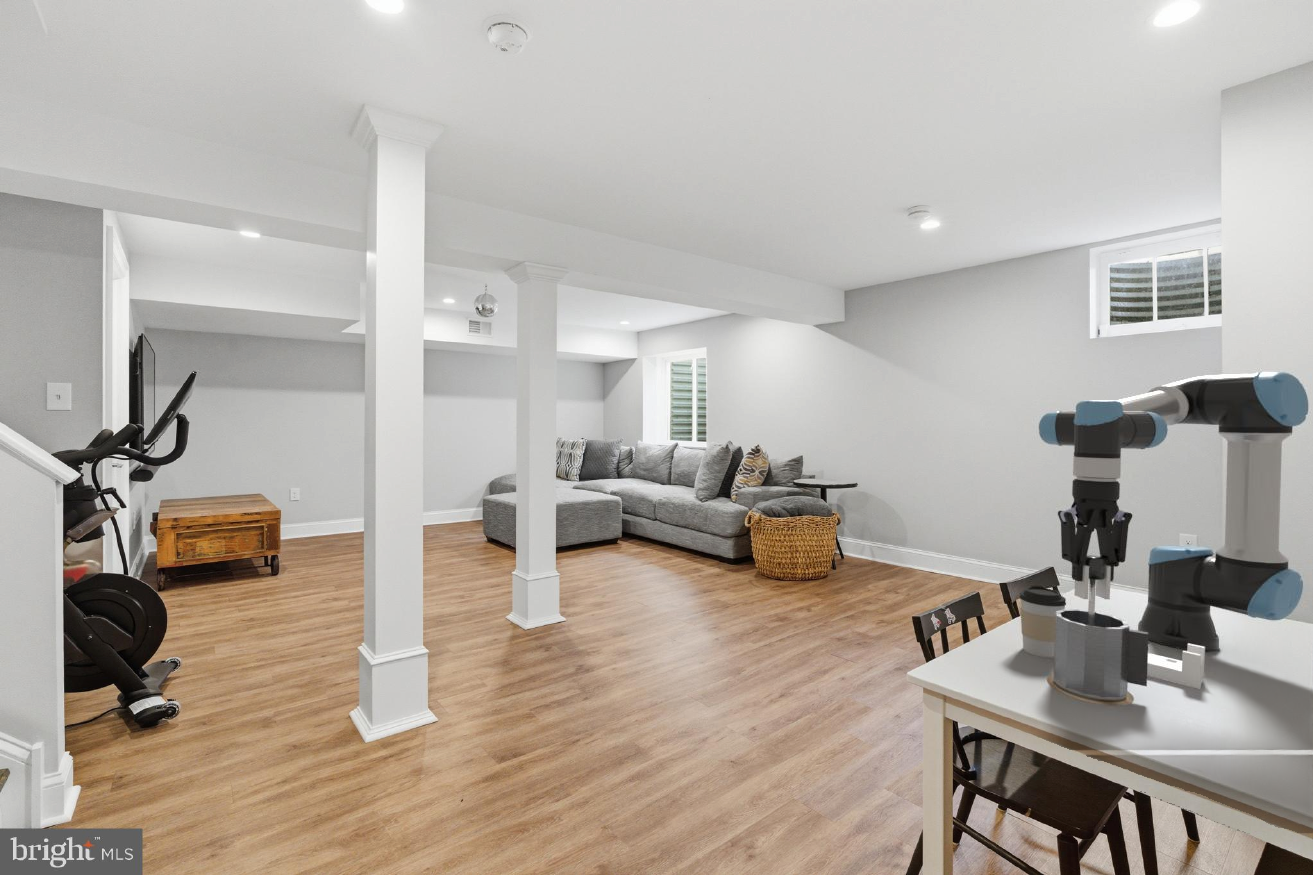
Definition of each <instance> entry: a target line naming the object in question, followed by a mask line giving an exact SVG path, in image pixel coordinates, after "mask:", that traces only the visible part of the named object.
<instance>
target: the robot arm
mask: <svg viewBox="0 0 1313 875" xmlns="http://www.w3.org/2000/svg"><path fill="white" fill-rule="evenodd" d="M1308 413H1309V398H1308V394H1307V392H1306V390H1305V387H1304V385H1303V383H1301V382H1300V380H1299V379H1298V378H1297V377H1296V376H1294V375H1293V374H1292V373H1288V372H1285V371H1284V372H1283V371H1258V372H1246V373H1244V372H1243V373H1230V374H1229V373H1228V374H1225V373H1224V374H1209V375H1201V376H1195V377H1191V378H1186V379H1182V380H1177V381H1175V382H1170V383H1167V384H1166V383H1165V384H1163V385H1158V386H1156V387H1153V388H1151V389H1150V390H1149V391H1148V392H1147V393H1143V394H1139V395H1133V396H1131V397H1126V398H1122V399H1118V400H1101V399H1100V400H1099V399H1098V400H1096V399H1093V400H1081V401H1079V402H1077V404H1076V405H1075V409H1074V410H1071V411H1062V410H1058V411H1052V412H1051V411H1050V412H1047V413H1045V414H1044V415H1043V416H1042V417H1041V419H1040V420H1039V423H1038V433H1039V437H1040V438H1041V440H1042V441H1043V442H1044V443H1045V444H1048V445H1053V446H1054V445H1055V446H1059V447H1063V446H1067V447H1069V446H1071V447H1073V446H1074V447H1073V448H1074V449H1073V450H1074V451H1073V463H1072V466H1073V467H1072V475H1073V476H1074V477H1076V478H1074V479H1073V480H1072V486H1071V487H1072V489H1071V490H1072V491H1071V495H1072V497H1073V503H1072V504H1071V507H1070V508H1069V509H1066V510H1059V511H1058V512H1057V516H1058V518H1059V521H1060V538H1061V539H1060V542H1061V544H1060V546H1061V547H1060V548H1061V558H1062V559H1063V560H1064V561H1067V562H1070V563H1071V579H1072V580H1074V593H1073V594H1074V596H1076V597H1078V598H1080V599H1083V600H1089V566H1087V565H1084V564H1085V562H1086V557H1087V555H1088V552H1089V546H1090V543H1091V537H1092V533H1093V532H1094V531H1096V537H1097V543H1098V549H1099V557H1103V558H1105V562H1104V579H1103V580H1096V584H1095V597H1099V598H1101V599H1104V600H1110V599H1111V598H1110V597H1111V582H1114V579H1115V578H1114V577H1115V576H1114V575H1115V574H1114V573H1115V572H1114V571H1115V568H1116V567H1119V566H1120V563H1124V562H1125V561H1126V557H1127V556H1126V555H1127V546H1128V544H1127V543H1128V534H1129V525H1130V523H1131V521H1132V518H1133V514H1132V513H1131V512H1127V511H1123V510H1121V509H1119V508H1120V507H1119V505H1118V500H1120V495H1121V494H1120V491H1121V488H1120V487H1121V483H1119V481H1118V479H1120V478H1121V469H1122V468H1121V466H1122V465H1121V464H1122V462H1121V461H1122V459H1121V458H1122V454H1121V452H1122V449H1126V450H1127V449H1132V450H1133V449H1135V450H1145V449H1151V448H1155V447H1158V446H1159V445H1160V444H1162V443H1163V442H1164V440H1166V438H1167V436H1168V430H1169V429H1168V426H1174V425H1177V424H1179V425H1181V424H1185V425H1186V424H1188V425H1189V424H1190V425H1205V426H1206V425H1209V426H1210V425H1212V426H1215V425H1216V426H1218V434H1219V435H1220V436H1221V437H1223V438H1224V439H1225V440H1226V442H1227V445H1226V446H1227V448H1226V449H1227V452H1226V494H1225V522H1224V523H1225V524H1224V525H1225V526H1224V528H1225V529H1224V530H1225V531H1224V545H1223V546H1222V547H1220V548H1218V549H1216V550H1215V554H1214V551H1213V549H1212V548H1209V547H1204V546H1191V545H1189V546H1188V545H1165V546H1164V545H1162V546H1156V547H1153V548H1152V549H1151V550H1150V552H1149V558H1148V563H1147V566H1148V586H1147V588H1148V590H1147V604H1146V607H1145V609H1144V612H1143V615H1142V616H1141V620H1139V622H1138V624H1137V631H1143V632H1148V634H1149V637H1148V641H1151V642H1154V643H1157V644H1160V645H1164V646H1167V647H1171V648H1176V649H1180V650H1181V649H1182V650H1187V646H1188V643H1189V644H1194V645H1198V646H1203V647H1205V652H1210V651H1211V652H1212V651H1216V650H1219V648H1220V637H1219V635H1218V634H1217V630H1216V628H1215V627H1216V626H1215V624H1214V621H1213V618H1212V615H1211V607H1213V608H1217V609H1221V610H1225V611H1230V612H1232V613H1233V612H1234V613H1237V614H1241V615H1245V616H1248V617H1251V618H1257V619H1263V620H1268V621H1273V622H1274V621H1281V620H1283V619H1286V618H1287V617H1288V616H1289V615H1291V614H1292V613H1294V610H1295V609H1297V606H1298V605H1299V603H1300V600H1301V599H1302V594H1303V589H1304V584H1303V583H1304V581H1303V579H1302V575H1301V574H1300V573H1299V572H1298V571H1296V570H1294V569H1291V568H1289V558H1288V557H1287V556H1285V555H1284V554H1283V553H1282V552H1281V551H1280V550H1279V549H1280V548H1279V546H1280V516H1281V488H1282V485H1281V484H1282V483H1281V482H1282V456H1283V455H1282V452H1283V451H1282V450H1283V447H1282V446H1283V442H1284V440H1286V439H1287V438H1289V437H1290V436H1292V435H1293V427H1297V426H1300V425H1301V424H1302V423H1304V422H1305V421H1306V418H1307V416H1306V415H1308ZM1214 555H1215V556H1214Z"/></svg>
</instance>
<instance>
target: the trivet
mask: <svg viewBox="0 0 1313 875" xmlns="http://www.w3.org/2000/svg"><path fill="white" fill-rule="evenodd" d="M1053 678H1054V674H1050V675H1049V676H1047V678H1046V682H1047V684H1048V686H1050V687H1051V688H1053V689H1054V690H1056V691H1057V692H1059V693H1061V694H1063V695H1065V696H1068V697H1070V698H1074V699H1077V700H1080V701H1083V702H1087V703H1093V704H1098V705H1103V706H1104V705H1105V706H1127V705H1130V704H1132V703H1133V702H1134V699H1135V697H1134V695H1133V694H1132V693H1131V691H1129V690H1127V698H1126V700H1124V701H1121V702H1100V701H1093V700H1089V699H1085V698H1081V697H1078V696H1075V695H1072V694H1070V693H1067V692H1065V691H1063V690H1061V689H1060V688H1058V687H1057V686H1056V685H1055V684H1054V682H1053Z"/></svg>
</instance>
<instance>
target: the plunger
mask: <svg viewBox="0 0 1313 875" xmlns="http://www.w3.org/2000/svg"><path fill="white" fill-rule="evenodd" d="M1104 562H1105V558H1103V557H1100V555H1099V556H1098V555H1093V554H1092V555H1089V554H1087V557H1086V562H1085V564H1084V565H1087V566H1089V587H1088V610H1087V611H1088V625H1090V626H1094V615H1095V612H1096V611H1095V610H1096V580H1103V579H1104Z"/></svg>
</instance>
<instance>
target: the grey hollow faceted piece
mask: <svg viewBox="0 0 1313 875" xmlns="http://www.w3.org/2000/svg"><path fill="white" fill-rule="evenodd" d="M1148 637H1149V634H1148V632H1143V631H1138V629H1137V630H1136V629H1131V626H1130V625H1129V623H1128V621H1127V620H1124V619H1122V618H1119V617H1118V616H1114V615H1110V614H1107V613H1102V612H1097V611H1095V615H1094V626H1090V625H1088V610H1084V609H1073V608H1071V609H1067V608H1065V609H1063V610H1059V611H1056V612H1055V642H1054V657H1053V675H1054V678H1053V682H1054V684H1055V685H1056V686H1057V687H1058V688H1060V689H1061V690H1063V691H1065V692H1067V693H1070V694H1072V695H1075V696H1078V697H1081V698H1085V699H1089V700H1093V701H1100V702H1121V701H1124V700H1126V698H1127V691H1128V688H1129V687H1128V686H1129V685H1128V684H1133V685H1138V686H1142V687H1147V686H1148V676H1147V665H1148V653H1149V640H1148Z"/></svg>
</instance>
